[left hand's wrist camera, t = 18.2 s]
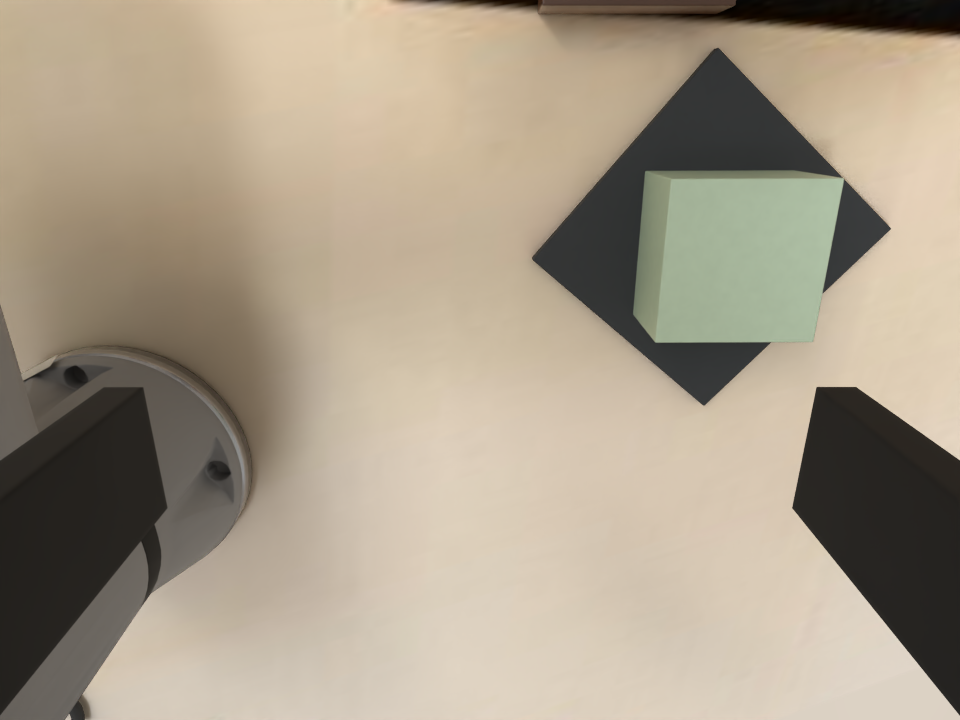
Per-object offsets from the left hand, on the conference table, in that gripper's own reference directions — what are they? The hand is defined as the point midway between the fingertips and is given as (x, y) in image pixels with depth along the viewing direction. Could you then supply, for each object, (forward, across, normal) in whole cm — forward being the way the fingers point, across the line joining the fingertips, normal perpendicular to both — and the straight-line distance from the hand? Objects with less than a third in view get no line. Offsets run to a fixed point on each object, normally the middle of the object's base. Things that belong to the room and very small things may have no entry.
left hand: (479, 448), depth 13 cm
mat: (+25, -13, 0) cm, 28 cm away
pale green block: (+24, -13, 0) cm, 27 cm away
